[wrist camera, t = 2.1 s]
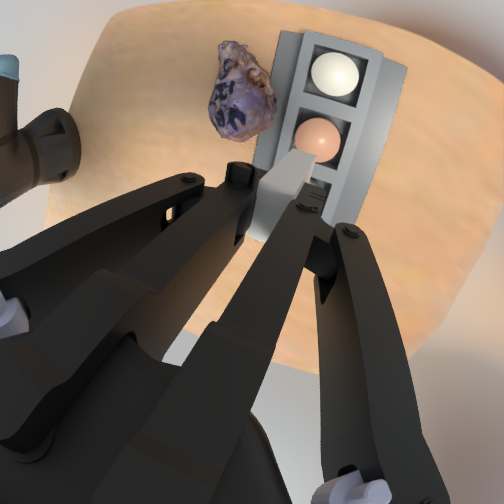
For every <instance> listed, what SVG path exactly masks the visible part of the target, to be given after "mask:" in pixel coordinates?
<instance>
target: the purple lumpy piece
mask: <svg viewBox="0 0 504 504" xmlns="http://www.w3.org/2000/svg"><path fill="white" fill-rule="evenodd" d="M246 47H248V46H247V45H242V46H240V45H239V43H238V42H235V41H232V42H230V41H224V42H223V43H222V44H220V45H219V46H218V48H219V57H218V58H219V61H220V70H219V73H218V76H217V80H216V83H215V88H214V91H213V93H212V96H211V99H210V102H209V105H208V111H209V117H210V120H211V122H212V124H213V125H214V126H215V128H216V130H217V132H218V133H219V134H220V136H221V138H227V139H229V140H232V141H235V142H244V141H246V140H248V139H250V138H251V137H253V136H254V135H256V134H257V133H261V134H262V133H263V132H264V131H265V130H266V129H269V128H270V125H271V123H272V121H273V118H274V114H275V113H276V112H277V106H276V102H277V99H276V97H275V89H274V88H273V87H272V86H271V82H270V77H269V74H268V73H267V72H266V71H265V70H263V69H262V68H261V67H260V66H259V63H258V62H257V61H256V59H255V56H253V55H252V54H250V53H248V52H246V51H245V49H246ZM261 83H262V84H263V85H264V87H263V88H262V87H261Z"/></svg>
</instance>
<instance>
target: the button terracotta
mask: <svg viewBox="0 0 504 504" xmlns="http://www.w3.org/2000/svg"><path fill="white" fill-rule="evenodd" d="M340 142H341V135H340V131H339V129H338V127H337V126H336V125H335V124H334V123H333V122H332V121H331V120H329V119H327V118H323V117H314V118H311V119H309V120H307V121H305V122H304V123H303V124H301V125H300V126H299V128H298V129H297V131H296V134H295V144H296V147H297V149H298V150H301V151H304V152H307V153H310V154H314V155H317V157H316V161H315V162H326V161H328V160H330V159H332V158H333V157H334V156H335V155H336V153H337V152H338V150H339V146H340Z"/></svg>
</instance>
